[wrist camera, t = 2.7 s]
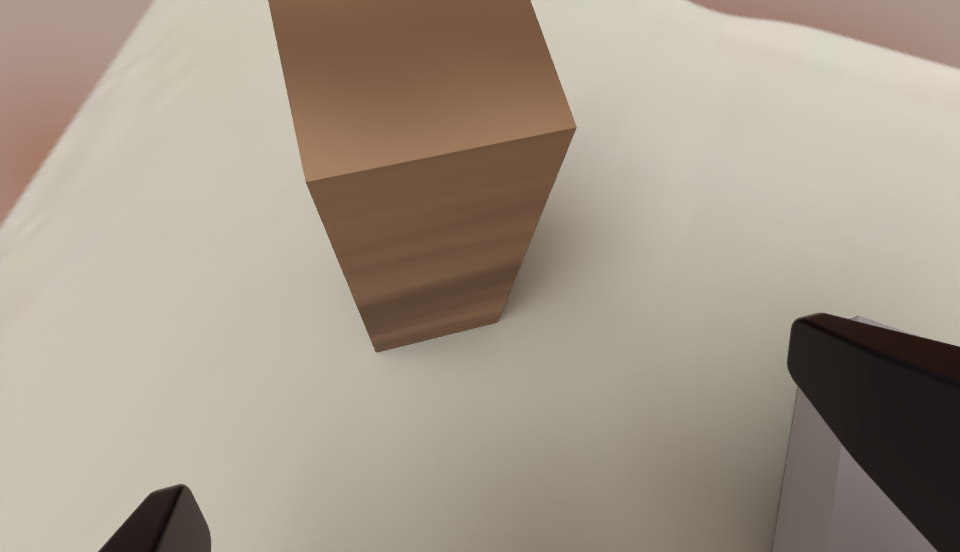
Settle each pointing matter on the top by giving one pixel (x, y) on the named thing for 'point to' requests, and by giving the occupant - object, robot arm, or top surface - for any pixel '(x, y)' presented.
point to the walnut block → (424, 150)
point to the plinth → (835, 495)
